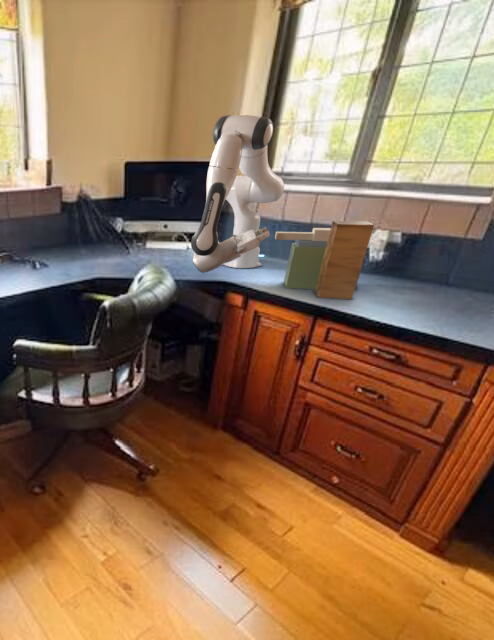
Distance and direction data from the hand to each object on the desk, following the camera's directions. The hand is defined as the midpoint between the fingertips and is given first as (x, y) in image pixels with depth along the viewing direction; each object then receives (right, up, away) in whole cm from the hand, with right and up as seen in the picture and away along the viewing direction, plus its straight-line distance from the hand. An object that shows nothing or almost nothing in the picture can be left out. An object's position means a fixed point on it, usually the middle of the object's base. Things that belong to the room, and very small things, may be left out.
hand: (268, 231), depth 164 cm
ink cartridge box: (+34, -21, +5) cm, 40 cm away
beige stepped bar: (+14, -4, -2) cm, 14 cm away
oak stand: (+22, -26, -6) cm, 35 cm away
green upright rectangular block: (+16, -20, +6) cm, 26 cm away
